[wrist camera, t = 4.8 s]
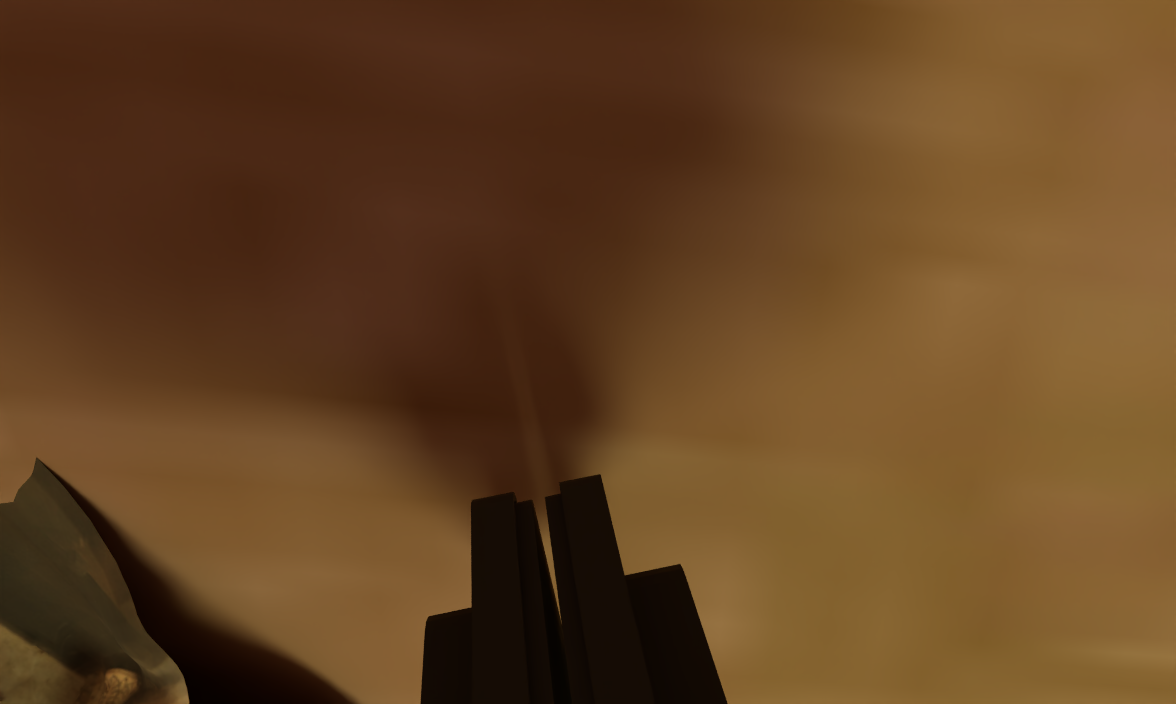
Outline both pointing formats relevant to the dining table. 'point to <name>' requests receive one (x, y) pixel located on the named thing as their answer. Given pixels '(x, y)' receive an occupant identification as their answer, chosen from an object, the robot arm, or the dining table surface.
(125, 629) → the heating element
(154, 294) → the dining table surface
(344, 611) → the dining table surface
